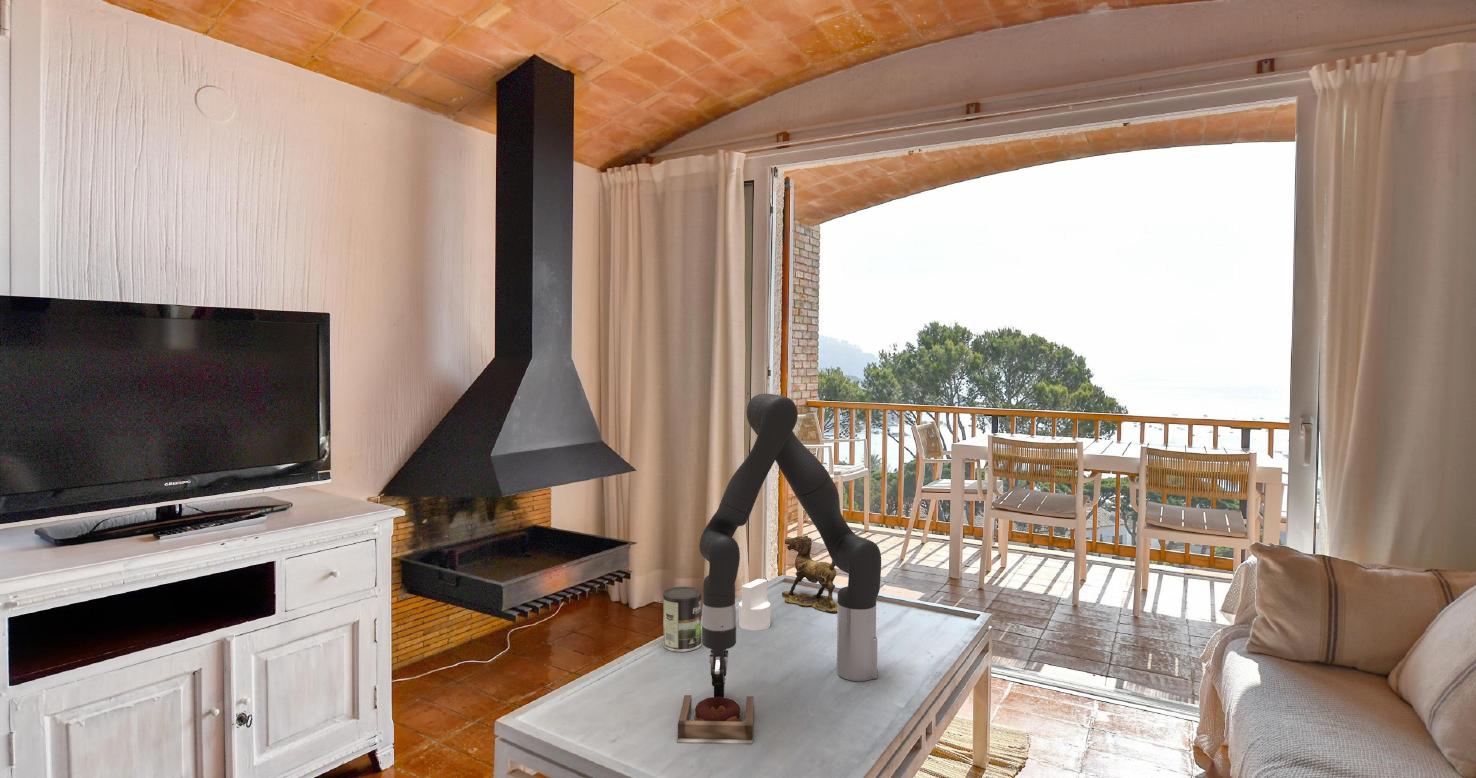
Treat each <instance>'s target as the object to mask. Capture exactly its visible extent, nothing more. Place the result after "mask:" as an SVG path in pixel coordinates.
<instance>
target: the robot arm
mask: <svg viewBox="0 0 1476 778" xmlns="http://www.w3.org/2000/svg"><path fill="white" fill-rule="evenodd" d="M798 413H799V412H798V406H797V405H796V403H795V402H794V401H793V399H791V398H790V397H788V396H784V395H781V394H776V393H775V394H773V393H760V394H756V395H754V396H753V397H752V398H751V399H750V400H749V402H748V403H747V406H746V418H747V422H748V425H749V426H750V427H751V429H752V431H753V432H754V433H755V434H756V435H757V436H756V439H755V442H754V444H753V446H752V449H751V450H750V451H749V453H748V454H747V456H746V458H745V459H744V460H743V462H742V463H741V465H740V466H739V467H738V468H736V469H737V470H736V471H735V472H734V473H733V475H732V476H731V478H730V480H729V482H728V483H727V486H726V488H725V491H724V492H723V496H722V498H721V500H720V502H719V505H718V509H717V510H716V511H715V513H714V514H713V516H712V517H711V519H710V520H709V522H708V523H707V525H706V526H705V528H704V530H703V532H702V534H701V537H700V540H699V545H698V546H699V548H698V549H699V551H700V554H701V556H702V557H703V558H704V559H705V560H706V561H707V562H708V563H709V566H708V567H709V568H708V575H706V577H705V578H704V579H703V584H702V607H701V643H702V644H701V645H702V646H704V648H707V650H708V649H710V654H709V664H710V676H711V685H712V687H713V697H717V696H721V697H724V698H725V684H726V676H727V672H728V661H729V649H731V648H733V647H734V646H735V645H736V644H737V608H736V580H737V578H738V572H739V567H740V560H741V559H740V558H741V556H740V555H741V553H740V547H739V544H738V542H737V541H736V538H734V537H733V536H734V535H735V533H736V531H737V529H738V527H743V526H745V525H746V523H747V522H748V520H749V518H750V515H751V513H752V510H753V509H754V506H755V503H756V501H757V498H758V496H759V493H760V491H761V488H762V486H763V484H764V481H765V480H766V478H767V476H768V474H769V472H770V471H771V469H772V466H773V465H774V464H775V462H776V464H777V466H778V467H779V470H780V471H781V473H782V474H783V476H784V478H785V480H786V482H787V483H788V484H789V486H790V488H791V490H792V492H793V494H794V495H795V498H796V499H797V500H798V502H799V503H800V505H801V507H802V508H803V509H804V511H805V513H806V514H807V516H808V518H809V519H810V521H811V522H812V523H813V525H814V527H815V528H816V530H817V531H818V533H819V534H820V537H821V539H822V541H823V543H824V545H825V548H826V551H827V552H828V554H829V556H830V559H831V562H832V561H833V562H834V564H835V567H836V568H838V569H839V570H840V571H842V572H844V573H846V574H848V580H847V586H844V587H841V588H840V589H839V590H838V592H837V599H836V600H837V601H836V602H837V603H836V604H837V614H836V615H837V616H836V617H837V619H836V620H837V621H836V626H837V627H836V631H837V632H836V641H837V642H836V673H837V675H838V676H839V677H841V678H842V679H845V680H848V681H852V682H865V681H870V680H875V679H878V637H877V600H878V599H877V598H878V596H879V593H880V589H881V577H882V575H881V573H882V554H881V550H880V547H879V546H878V544H877V543H876V542H874V541H873V540H870V539H867V538H864V537H861V536H859V535H857V534H855V533H854V532H853V530H852V528H851V527H850V526H849V525H848V523H847V522H846V520H845V519H844V516H843V515H842V511H841V506H840V505H841V504H840V503H841V501H840V495H839V490H838V488H837V486H836V484H835V482H834V480H833V479H832V476H831V475H830V474H829V472H828V469H826V467H825V466H824V464H823V463H822V462H821V461H820V460H819V459H818V458H817V457H816V455H814V454H813V452H811V451H810V450H809V449H808V448H807V447H806V446H805V445H804V444H803V443H802V441H800V440H799V437H797V436H796V434H795V432H794V429H795V427H796V426H797V425H796V424H797V422H798V419H799V414H798Z"/></svg>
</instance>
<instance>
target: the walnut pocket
mask: <svg viewBox="0 0 1476 778" xmlns="http://www.w3.org/2000/svg"><path fill="white" fill-rule="evenodd" d="M754 701H755V699H754V696H752V695H749V696H748V695H747V696H746V701H745V720H744V721H739V722H732V721H695V720H690V717H691V712H692V695H691V694H685V695H684V697H683V701H682V705H681V707H680V714H679V718H678V721H677V740H676V743H677V744H682V743H683V744H684V743H685V744H686V743H687V744H689V743H690V744H722V745H723V744H727V745H728V744H729V745H731V744H732V745H734V744H735V745H753V737H754V710H755V709H754V706H755V705H754Z"/></svg>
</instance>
